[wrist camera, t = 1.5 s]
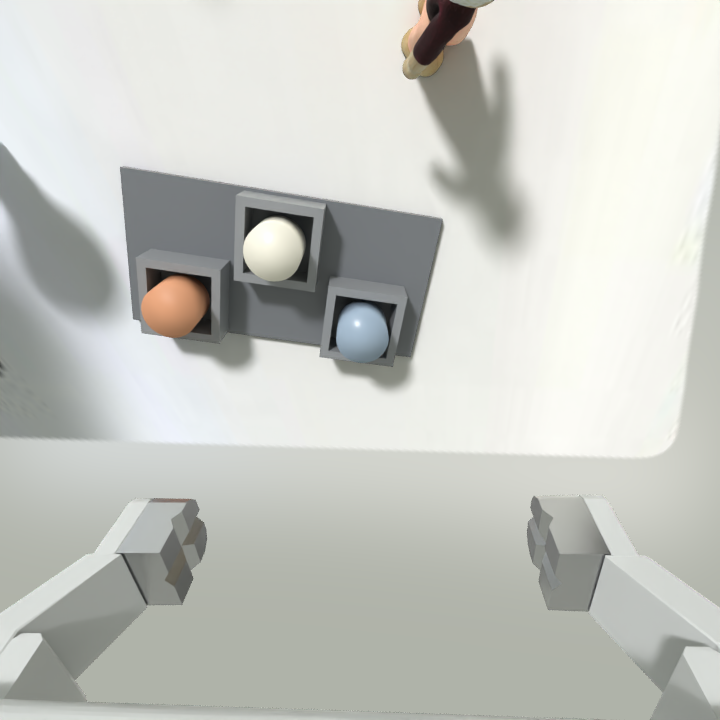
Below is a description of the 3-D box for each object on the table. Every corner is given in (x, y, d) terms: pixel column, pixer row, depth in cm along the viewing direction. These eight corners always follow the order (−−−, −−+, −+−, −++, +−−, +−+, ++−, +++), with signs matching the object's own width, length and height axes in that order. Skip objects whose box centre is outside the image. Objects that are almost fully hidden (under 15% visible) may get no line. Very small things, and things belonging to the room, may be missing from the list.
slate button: (334, 341, 34) (333, 359, 31) (341, 296, 32) (340, 311, 29) (381, 347, 34) (383, 366, 31) (390, 303, 32) (393, 319, 30)
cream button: (251, 264, 31) (242, 277, 28) (254, 211, 29) (244, 219, 27) (303, 272, 31) (298, 285, 28) (308, 220, 30) (303, 228, 27)
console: (136, 316, 35) (117, 332, 32) (123, 166, 30) (100, 170, 27) (409, 354, 36) (413, 372, 34) (441, 218, 31) (449, 226, 29)
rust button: (160, 317, 33) (143, 333, 30) (157, 270, 31) (139, 283, 28) (209, 323, 33) (196, 341, 30) (209, 277, 31) (196, 291, 29)
